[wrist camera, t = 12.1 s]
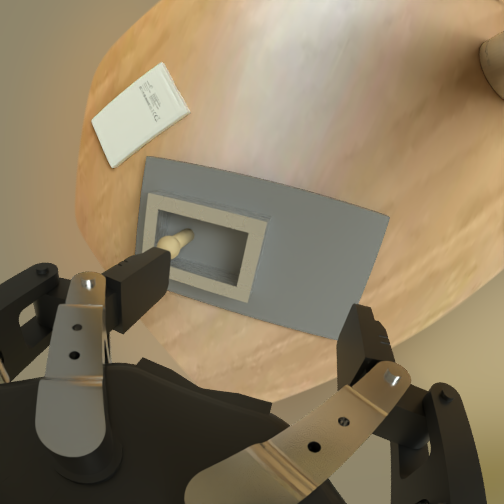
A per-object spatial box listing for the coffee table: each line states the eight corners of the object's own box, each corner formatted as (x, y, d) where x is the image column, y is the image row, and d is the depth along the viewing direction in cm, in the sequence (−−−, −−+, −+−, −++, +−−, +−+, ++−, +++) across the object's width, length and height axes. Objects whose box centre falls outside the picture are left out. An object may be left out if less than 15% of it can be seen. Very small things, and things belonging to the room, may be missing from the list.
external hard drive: (97, 120, 32) (166, 64, 28) (118, 167, 33) (193, 113, 30) (90, 119, 30) (160, 60, 27) (111, 168, 32) (187, 111, 28)
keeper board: (387, 215, 28) (408, 231, 22) (340, 335, 34) (344, 373, 27) (151, 156, 31) (114, 157, 25) (138, 274, 37) (107, 297, 30)
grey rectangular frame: (271, 216, 30) (267, 222, 27) (252, 291, 33) (247, 302, 30) (161, 189, 31) (148, 192, 28) (153, 260, 34) (141, 268, 32)
